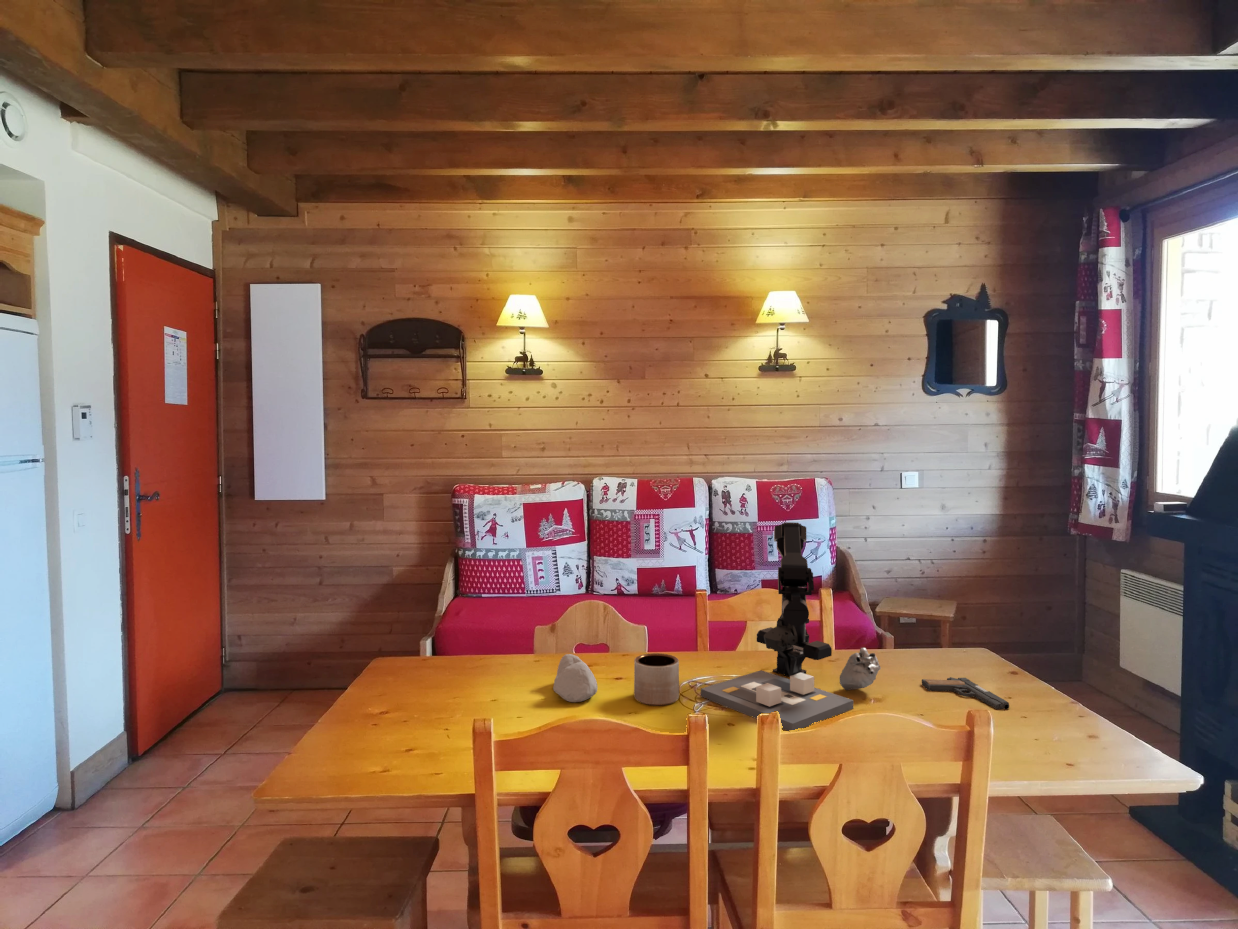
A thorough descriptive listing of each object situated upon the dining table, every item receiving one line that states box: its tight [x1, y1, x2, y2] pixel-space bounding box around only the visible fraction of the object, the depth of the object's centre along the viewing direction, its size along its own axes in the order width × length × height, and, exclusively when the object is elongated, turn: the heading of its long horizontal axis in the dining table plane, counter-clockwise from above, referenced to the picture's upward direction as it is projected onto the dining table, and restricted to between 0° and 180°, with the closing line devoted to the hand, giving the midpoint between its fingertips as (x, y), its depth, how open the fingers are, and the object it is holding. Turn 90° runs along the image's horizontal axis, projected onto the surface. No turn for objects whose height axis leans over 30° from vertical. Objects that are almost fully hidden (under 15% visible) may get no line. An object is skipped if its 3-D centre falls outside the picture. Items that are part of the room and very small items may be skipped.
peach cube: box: [789, 673, 815, 695], centre depth 188 cm, size 4×4×4 cm
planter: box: [633, 652, 680, 707], centre depth 189 cm, size 11×11×10 cm
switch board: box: [700, 669, 854, 732], centre depth 187 cm, size 22×28×2 cm
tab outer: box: [756, 683, 781, 707], centre depth 180 cm, size 4×4×4 cm
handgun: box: [921, 676, 1010, 710], centre depth 190 cm, size 19×2×12 cm
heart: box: [839, 647, 882, 691], centre depth 194 cm, size 10×10×12 cm
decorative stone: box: [552, 653, 598, 703], centre depth 194 cm, size 17×10×10 cm
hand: (792, 677), depth 190 cm, fingers closed
